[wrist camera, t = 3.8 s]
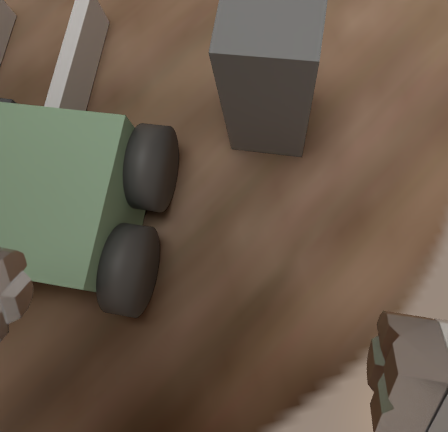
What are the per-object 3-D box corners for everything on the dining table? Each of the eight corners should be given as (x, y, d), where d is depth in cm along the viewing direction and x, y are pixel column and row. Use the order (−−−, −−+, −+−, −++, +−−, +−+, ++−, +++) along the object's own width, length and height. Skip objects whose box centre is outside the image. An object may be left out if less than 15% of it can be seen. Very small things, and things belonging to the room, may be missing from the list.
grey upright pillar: (231, 149, 27) (208, 52, 17) (242, 86, 28) (226, -38, 18) (301, 157, 26) (319, 61, 16) (310, 93, 27) (331, -33, 17)
